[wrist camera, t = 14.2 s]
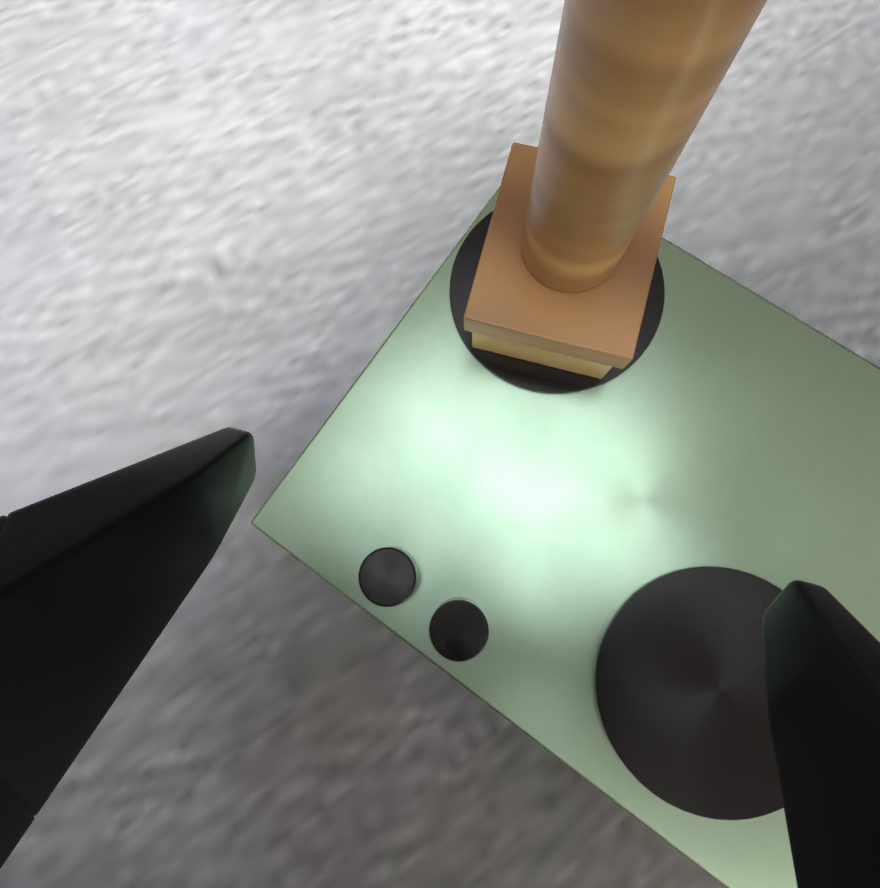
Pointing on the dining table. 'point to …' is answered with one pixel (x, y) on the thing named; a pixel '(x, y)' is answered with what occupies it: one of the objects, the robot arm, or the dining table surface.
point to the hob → (607, 534)
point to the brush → (599, 180)
